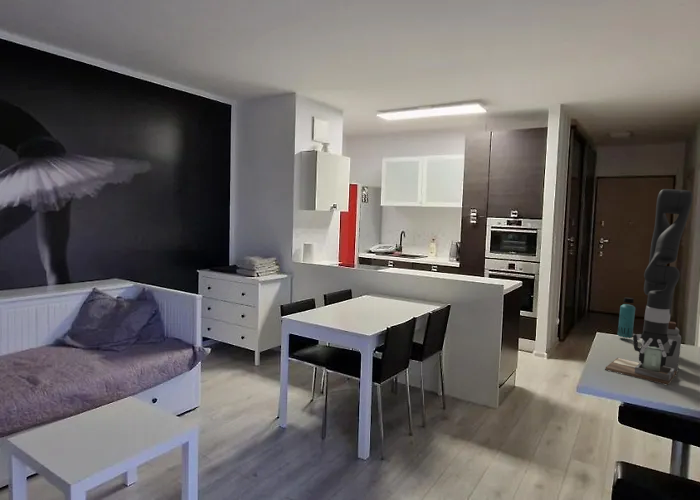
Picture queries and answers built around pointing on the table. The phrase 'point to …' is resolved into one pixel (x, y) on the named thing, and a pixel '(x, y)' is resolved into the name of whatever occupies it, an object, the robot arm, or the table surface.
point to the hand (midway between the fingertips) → (651, 364)
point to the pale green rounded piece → (652, 359)
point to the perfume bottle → (674, 360)
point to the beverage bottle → (626, 319)
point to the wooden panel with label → (642, 371)
